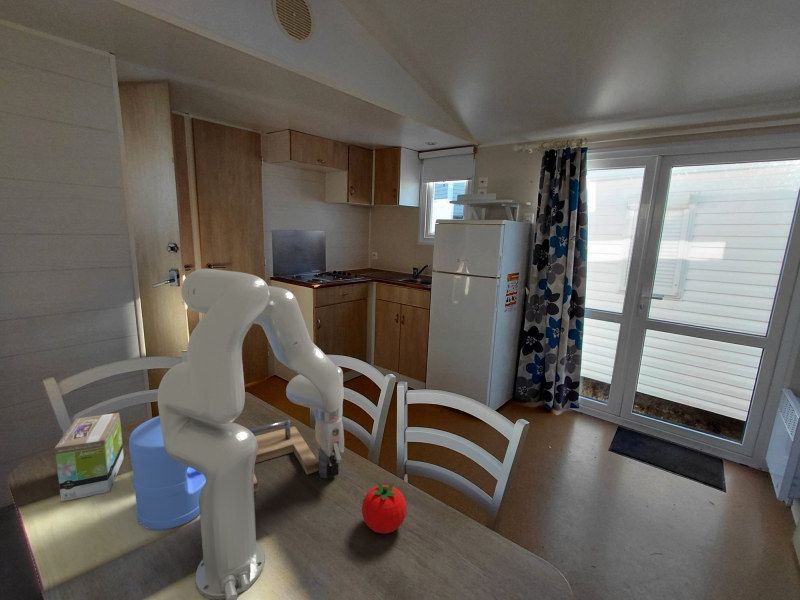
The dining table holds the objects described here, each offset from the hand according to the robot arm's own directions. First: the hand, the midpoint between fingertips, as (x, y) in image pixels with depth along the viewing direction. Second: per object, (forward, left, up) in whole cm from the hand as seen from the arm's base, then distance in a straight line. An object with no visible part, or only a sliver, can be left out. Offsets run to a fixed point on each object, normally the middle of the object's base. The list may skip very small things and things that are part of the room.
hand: (328, 469), depth 104 cm
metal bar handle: (+17, +12, +2) cm, 21 cm away
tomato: (-24, -4, -1) cm, 24 cm away
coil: (0, 0, -1) cm, 1 cm away
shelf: (+13, +12, -1) cm, 18 cm away
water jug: (+6, +37, -1) cm, 37 cm away
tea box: (+28, +54, -1) cm, 61 cm away
